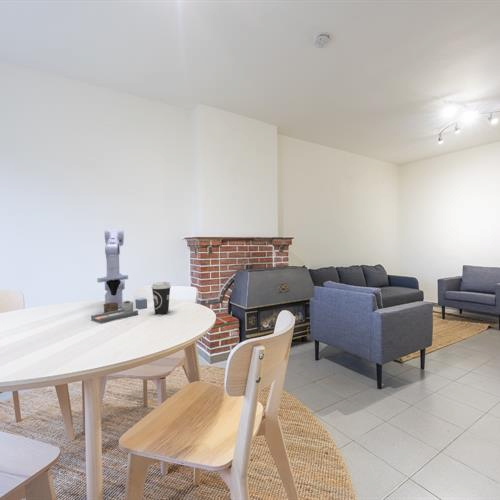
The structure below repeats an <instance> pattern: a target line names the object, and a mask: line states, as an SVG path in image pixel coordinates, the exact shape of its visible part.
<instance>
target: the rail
mask: <svg viewBox="0 0 500 500" xmlns="http://www.w3.org/2000/svg"><path fill="white" fill-rule="evenodd" d="M138 315H139V309H136V310H133V311H131V312H127V313H123V312H121V309H118V310H116V311H111V312H107V313H104V312H102V313H98V314H91V316H90V319H91V321H93V322H96V323H99V324H103V323H104V324H105V323H110V322H115V321H117V320H121V319H126V318H130V317H134V316H138Z"/></svg>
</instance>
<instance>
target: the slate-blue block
mask: <svg viewBox="0 0 500 500" xmlns="http://www.w3.org/2000/svg"><path fill="white" fill-rule="evenodd" d="M135 309H136V310H143V309H148V299H147V298H146V297H141V298H135Z"/></svg>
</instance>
